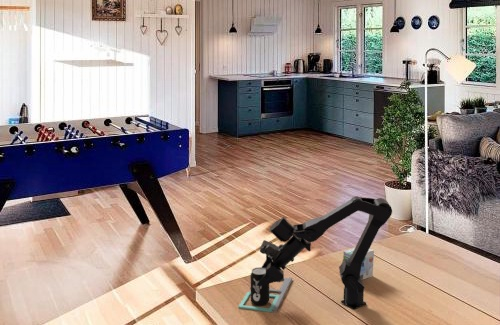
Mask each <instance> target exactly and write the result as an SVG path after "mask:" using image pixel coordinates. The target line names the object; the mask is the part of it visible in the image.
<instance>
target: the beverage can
mask: <svg viewBox="0 0 500 325" xmlns="http://www.w3.org/2000/svg"><path fill="white" fill-rule="evenodd" d="M261 267H262V266H261ZM261 267H254V268H253V269H251V273H250V287H251V289H250V292H251V295H250V303H251V304H252V305H255V306H256V307H263V306H265V305H267V304H268V303H269V302H270V297H269V294H270V292H269V289H270V283H269V284H266V285H262V286H258V285H257V283H258V282H259V281H260V279H261V278H262V277H263V276H264V274H265V273H266V268H261Z"/></svg>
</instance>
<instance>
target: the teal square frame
mask: <svg viewBox="0 0 500 325" xmlns="http://www.w3.org/2000/svg"><path fill="white" fill-rule="evenodd" d="M279 296H280V294H271V293H269V298H272V299H273V298H274V299H273V302H272V303H271V305H270V307H269V308H267V307H262V306H251V305H245V304H246V302H247V300H248V299H249V297H251V291H247V292H246V294H245V295H244V297H243V298H242V300H241V301H240V303H239V304H238V306H237V307H238V309H244V310H250V311H260V312H269V313H274V312H273V308H274V306H275V304H276V302H277V300H278V298H279Z"/></svg>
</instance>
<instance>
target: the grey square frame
mask: <svg viewBox="0 0 500 325" xmlns="http://www.w3.org/2000/svg"><path fill="white" fill-rule="evenodd" d="M288 278H289V277H284V279H283V280H282V284H281V286H280V287H279V289H274V288H269V290H270V292H269V293H276V294H277V293H278V294H281V292H282V290H283V288H284V286H285V284H286V282H287V280H288ZM249 290H251V286H250V288H249Z"/></svg>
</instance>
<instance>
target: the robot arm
mask: <svg viewBox="0 0 500 325" xmlns="http://www.w3.org/2000/svg"><path fill="white" fill-rule="evenodd" d="M389 203H390V202H388V201H387V200H386V199H385V198H382V197H379V198H373V197H362V196H358V195H357V196H353V197H352V198H350V200H348V201H346V202H344V203H343V204H341V205H338V206H337V207H336V208H334V209H333V210H331V211H329V212H328V213H327V212H326V214H324V215H321V216H319V217H318V216H317V217H314V218H311V219H309V220H307V221H305V222H303V223H297V224H293V225H292V223H290V222H289V221H288V220H287V218H286V217H284V216H283V217H282V218H279V219H277V220H275V221H274V222H273V223H272V225H271V226H270V227H269V232H271V234H272V235H273V236H275V238H277V240H279V241H280V242H281V243H282V242H283V243H284V244H283V243H282V244H281V243H280V244H279V245H276V244H274V243H272V242H270V241H267V240H266V239H264V240H263V241H262V243H261V246H259V252H260V253H261V254H264V255H265V256H266V257H265V258H266V259H265V261H264V262H263V264H262V265H261V268H266V273H265V274H264V276H263V277H262V278H261V279H260V281H259V282H258V283H257V285H258V286H262V285H266V284H269V285H270V284H273V283H282V282H283V281H284V280H283V279H284V278H285V274H284V273H285V272H284V270H285V269H286V267H287V265H288V264H290V262H292V263H293V262H294V261H295V257H296V256H298V255H299V254H300V253H301V252H302V251H303V250H304V249H306V250H307V251H308V252H311V251H312V249H311V246H312V243H314V242H316V241H317V240H319V238H321V237H322V236H323V235H324V234H325V233H326V231H327V230H329V229H330V228H331V227H333V226H335V225H336V224H338V223H340V222H341V221H343V220H345V219H346V218H348V217H349V216H351V215H353V214H355V213H356V212H362V213H365V214H368V220H367V223H366V225H365V227H364V229H363V230H362V233H361V235H360V237H359V239H358V241H357V243H356V246H355V247H354V248H355V249H354V251H353V253H352V255H351V257H350V258H349V259H348V260H346V259H345V258H343V259H342V262H341V264H340V265H339V266H338V269H339V271H338V272H339V276H340V281H341V283H342V284H343V286H344V288H343V300H340V303H341V304H343V305H345V306H347V307H348V308H351V309H353V310H355V309H359V308H361V307H363V306H366V305H367V302H366V301H364V297H365V296H364V295H365V294H364V292H365V288H366V287H365V284H364V282H363V280H362V279H361V277H360V272H361V266H362V263H363V261H364V259H365V256H366V254H367V252H368V250H369V249H371V246H372V244H373V242H374V240H375V238H376V236H377V235H378V232H379V230H380V228H382V227H383V226H384V225H385V224H386V223H387V222H388V220H389V219H390V218H391V216H392V214H393V209H392V207H391V205H390V204H389Z"/></svg>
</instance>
